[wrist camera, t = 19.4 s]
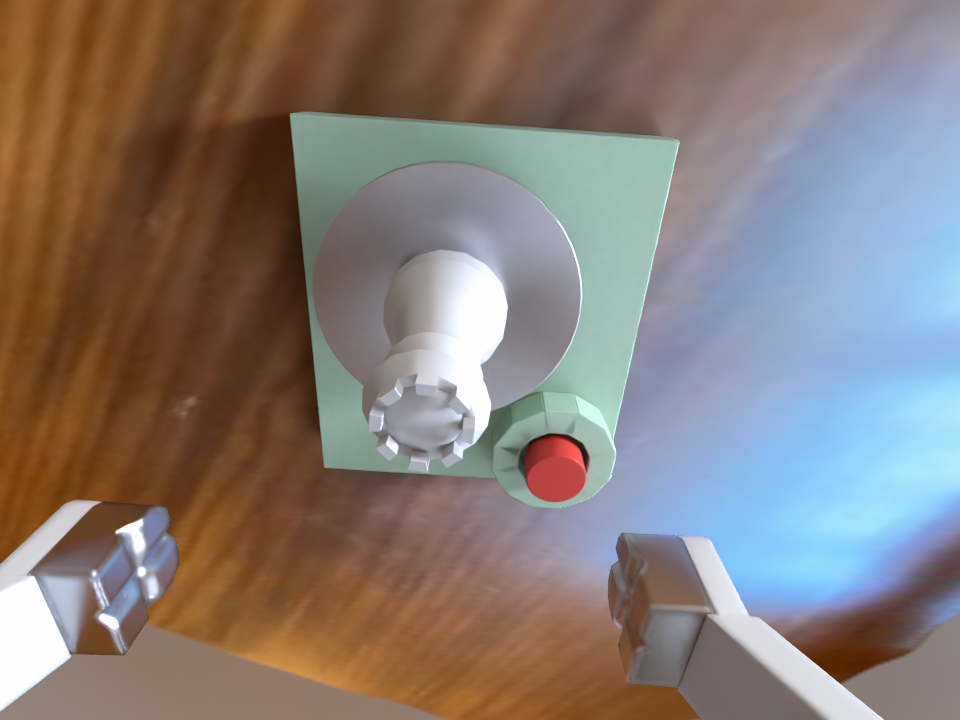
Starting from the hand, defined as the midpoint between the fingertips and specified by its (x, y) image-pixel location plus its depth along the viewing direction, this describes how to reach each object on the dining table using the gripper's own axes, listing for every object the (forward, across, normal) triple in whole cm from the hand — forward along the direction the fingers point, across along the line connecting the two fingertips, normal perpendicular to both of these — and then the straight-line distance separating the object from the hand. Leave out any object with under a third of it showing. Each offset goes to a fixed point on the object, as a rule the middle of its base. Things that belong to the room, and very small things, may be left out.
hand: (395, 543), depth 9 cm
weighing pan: (+12, 0, 0) cm, 12 cm away
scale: (+15, -1, +2) cm, 16 cm away
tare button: (+12, -5, +7) cm, 15 cm away
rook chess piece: (+11, 0, 0) cm, 11 cm away
